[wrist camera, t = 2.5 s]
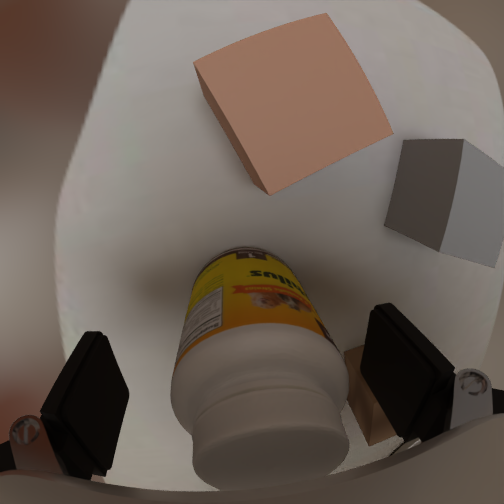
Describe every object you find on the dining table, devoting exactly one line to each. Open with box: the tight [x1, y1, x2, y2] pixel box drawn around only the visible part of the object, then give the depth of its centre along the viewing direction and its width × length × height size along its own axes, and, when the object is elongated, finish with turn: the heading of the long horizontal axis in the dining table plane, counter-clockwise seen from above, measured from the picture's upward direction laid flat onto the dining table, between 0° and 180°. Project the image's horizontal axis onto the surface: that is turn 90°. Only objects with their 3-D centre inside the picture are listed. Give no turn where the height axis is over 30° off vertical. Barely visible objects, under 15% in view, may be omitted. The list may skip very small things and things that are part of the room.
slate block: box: [384, 139, 504, 268], centre depth 12 cm, size 5×5×5 cm
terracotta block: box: [193, 13, 394, 196], centre depth 10 cm, size 5×5×5 cm
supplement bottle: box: [171, 248, 349, 491], centre depth 10 cm, size 6×6×10 cm
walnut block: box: [344, 345, 397, 446], centre depth 16 cm, size 5×5×5 cm
